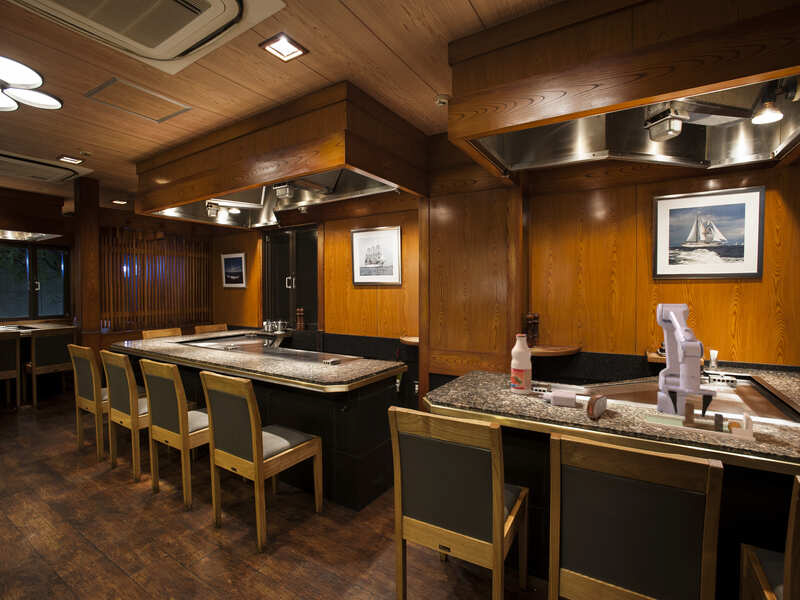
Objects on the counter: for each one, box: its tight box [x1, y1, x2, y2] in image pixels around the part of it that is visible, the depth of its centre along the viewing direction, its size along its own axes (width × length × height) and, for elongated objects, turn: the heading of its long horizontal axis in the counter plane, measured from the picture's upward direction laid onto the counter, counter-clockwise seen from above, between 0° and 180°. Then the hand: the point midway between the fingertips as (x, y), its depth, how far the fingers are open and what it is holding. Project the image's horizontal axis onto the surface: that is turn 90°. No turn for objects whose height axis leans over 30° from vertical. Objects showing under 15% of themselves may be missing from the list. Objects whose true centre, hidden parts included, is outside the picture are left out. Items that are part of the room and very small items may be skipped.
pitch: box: [644, 412, 756, 443], centre depth 138 cm, size 30×13×8 cm, turn 56°
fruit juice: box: [510, 333, 532, 395], centre depth 192 cm, size 9×9×28 cm
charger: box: [538, 390, 577, 408], centre depth 174 cm, size 5×9×15 cm
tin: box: [586, 392, 608, 420], centre depth 155 cm, size 15×3×8 cm, turn 134°
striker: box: [682, 402, 724, 432], centre depth 137 cm, size 11×4×7 cm, turn 56°
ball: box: [727, 422, 742, 432], centre depth 132 cm, size 4×4×4 cm
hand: (689, 414), depth 139 cm, fingers open, 7 cm apart
